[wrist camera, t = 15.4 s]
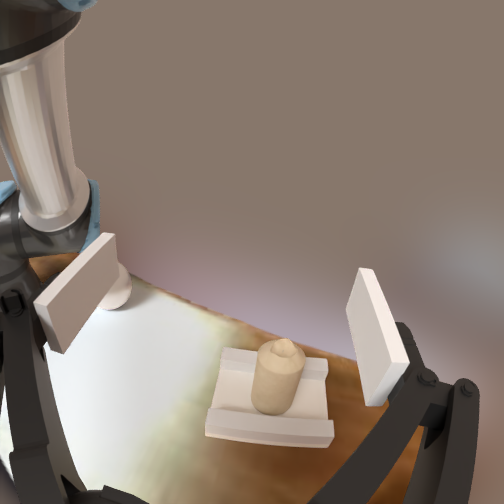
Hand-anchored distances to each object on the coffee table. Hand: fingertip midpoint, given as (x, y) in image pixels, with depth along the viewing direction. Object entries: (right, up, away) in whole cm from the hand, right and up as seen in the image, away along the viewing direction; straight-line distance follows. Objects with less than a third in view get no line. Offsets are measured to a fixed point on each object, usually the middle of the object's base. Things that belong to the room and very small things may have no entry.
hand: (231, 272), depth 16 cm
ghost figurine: (-25, -9, +37) cm, 45 cm away
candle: (+4, -18, +22) cm, 29 cm away
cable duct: (+4, -19, +22) cm, 30 cm away
